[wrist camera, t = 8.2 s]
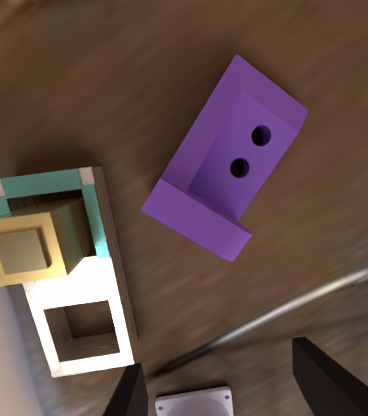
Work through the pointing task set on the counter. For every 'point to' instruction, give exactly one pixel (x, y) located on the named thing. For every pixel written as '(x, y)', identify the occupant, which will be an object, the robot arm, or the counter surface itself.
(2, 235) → the beige hollow block
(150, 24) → the counter surface
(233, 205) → the bracket
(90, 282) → the white compartment tray
